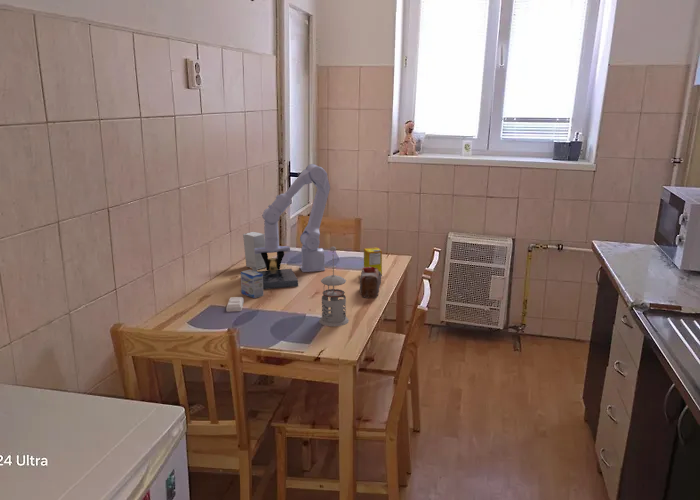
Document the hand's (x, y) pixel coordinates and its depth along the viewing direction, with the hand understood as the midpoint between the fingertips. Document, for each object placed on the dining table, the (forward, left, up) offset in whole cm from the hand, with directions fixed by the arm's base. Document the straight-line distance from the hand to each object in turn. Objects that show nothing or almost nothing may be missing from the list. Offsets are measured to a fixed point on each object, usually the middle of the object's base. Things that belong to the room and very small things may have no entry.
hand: (273, 269), depth 235 cm
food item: (-32, +34, -2) cm, 47 cm away
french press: (-12, +57, -2) cm, 58 cm away
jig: (+1, +12, -2) cm, 12 cm away
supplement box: (-39, +14, -2) cm, 41 cm away
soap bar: (+18, +36, -2) cm, 40 cm away
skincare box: (+6, -11, -2) cm, 13 cm away
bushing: (0, 0, -2) cm, 2 cm away
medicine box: (+11, +25, -2) cm, 27 cm away
